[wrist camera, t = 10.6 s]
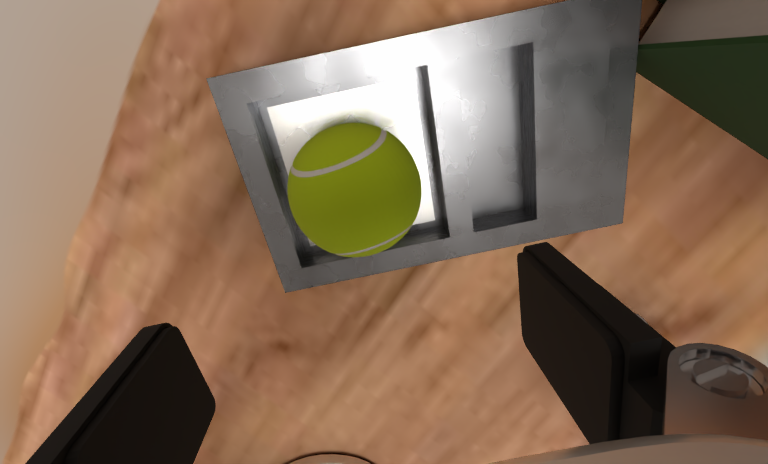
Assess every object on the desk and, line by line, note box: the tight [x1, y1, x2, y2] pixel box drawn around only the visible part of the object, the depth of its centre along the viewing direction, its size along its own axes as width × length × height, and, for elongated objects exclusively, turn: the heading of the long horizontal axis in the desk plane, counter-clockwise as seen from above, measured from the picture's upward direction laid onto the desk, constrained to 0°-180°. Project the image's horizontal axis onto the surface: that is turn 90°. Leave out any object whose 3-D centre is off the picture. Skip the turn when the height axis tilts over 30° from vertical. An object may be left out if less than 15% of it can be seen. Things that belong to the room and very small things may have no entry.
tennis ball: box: [287, 123, 421, 257], centre depth 20 cm, size 7×7×7 cm
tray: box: [207, 0, 642, 293], centre depth 22 cm, size 13×22×3 cm, turn 101°
